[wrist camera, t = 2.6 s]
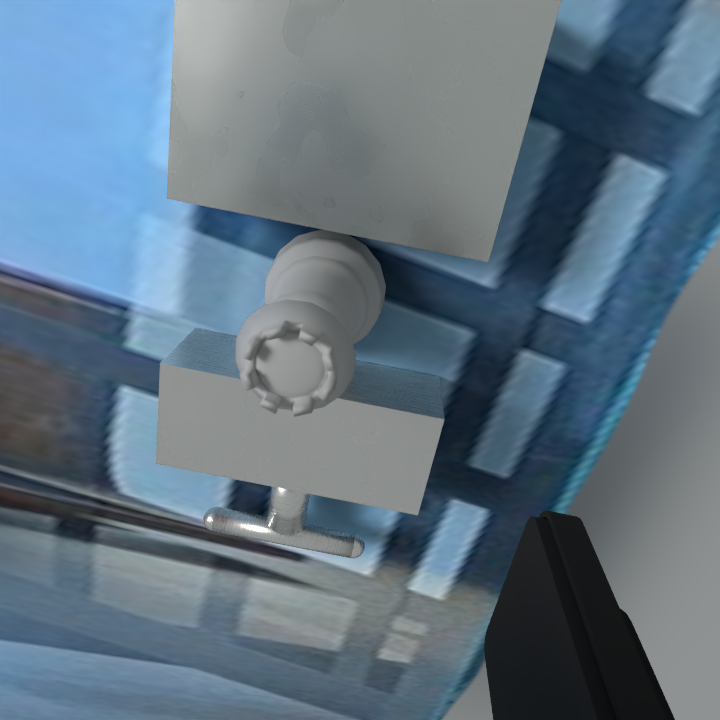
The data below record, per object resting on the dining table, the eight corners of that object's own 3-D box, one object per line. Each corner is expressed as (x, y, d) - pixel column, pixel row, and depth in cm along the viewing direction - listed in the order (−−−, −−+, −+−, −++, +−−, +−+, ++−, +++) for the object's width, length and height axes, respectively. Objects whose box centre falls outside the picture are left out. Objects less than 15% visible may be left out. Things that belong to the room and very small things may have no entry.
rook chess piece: (247, 290, 22) (167, 377, 15) (319, 201, 20) (270, 248, 13) (336, 361, 23) (302, 477, 15) (410, 281, 21) (413, 367, 14)
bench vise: (220, -52, 17) (178, -90, 14) (536, 12, 18) (564, -12, 14) (184, 494, 26) (152, 547, 23) (396, 536, 26) (395, 594, 23)
